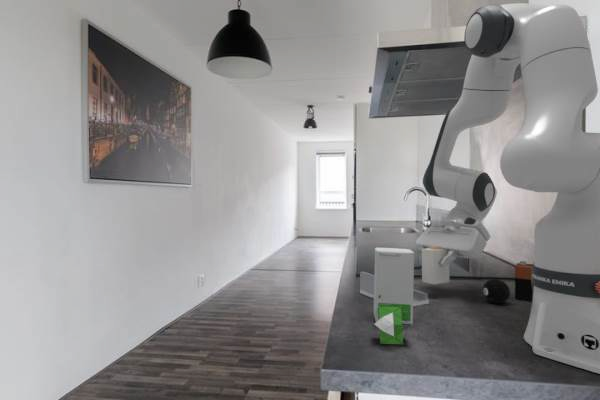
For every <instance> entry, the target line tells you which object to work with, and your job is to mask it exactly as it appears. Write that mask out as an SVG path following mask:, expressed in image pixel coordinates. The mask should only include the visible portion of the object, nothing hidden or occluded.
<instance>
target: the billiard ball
mask: <svg viewBox="0 0 600 400" xmlns="http://www.w3.org/2000/svg"><path fill="white" fill-rule="evenodd" d="M482 294H483V296H484V298H485V299H486V300H487V301H489V302H490V303H493V304H503V303H505V302H507V301H508V300H509V298H510V295H511V290H510V287H509V286H508V284H507V282H504V281H503V280H501V279H497V278H496V279H495V278H494V279H489V280H487V281H485V283H484V284H483V287H482Z"/></svg>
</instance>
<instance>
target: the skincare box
mask: <svg viewBox="0 0 600 400" xmlns="http://www.w3.org/2000/svg"><path fill="white" fill-rule="evenodd" d="M414 274H415V252H414V250H411V249H409V248H396V247H375V248H374V274H373V275H374V299H373V319H374V322H377V321H378V320H379V308H378V307H379V306H391V307H401V308H402V309H401V316H402V325H404V324H405V325H406V324H407V325H410V324H411V325H413V324H414V306H413V289H414V285H415V283H414V282H415V275H414ZM377 311H378V312H377ZM402 311H404V312H402ZM376 312H377V313H376ZM375 315H376V316H375ZM403 315H404V316H403ZM375 318H376V319H375ZM404 318H405V319H404ZM404 320H405V321H406V322H405V321H404ZM408 320H409V321H408ZM407 322H408V323H407ZM403 323H404V324H403Z"/></svg>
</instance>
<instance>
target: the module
mask: <svg viewBox="0 0 600 400" xmlns="http://www.w3.org/2000/svg"><path fill="white" fill-rule="evenodd" d="M448 252H449V250H447V249H441V247H438V246H434V247H430V248H427V249H422V251H421V280H422V281H421V282H422V283H426V284H430V285H439V284H446V283H450V263H449V264H448V265H447V267H441V266H440V265H439V264H438V262H439V261H440V259H441V258H444V257H446V256H447V255H448Z"/></svg>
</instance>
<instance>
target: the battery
mask: <svg viewBox="0 0 600 400" xmlns="http://www.w3.org/2000/svg"><path fill="white" fill-rule="evenodd" d="M533 265H534V261H533V263H527V261H522V260H520V261H519V262H517V263H516V265H515V266H514V298H515V300H516V299H517V300H520V301H528V302H532V300H533V291H532V285H531V274H532V266H533Z"/></svg>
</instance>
